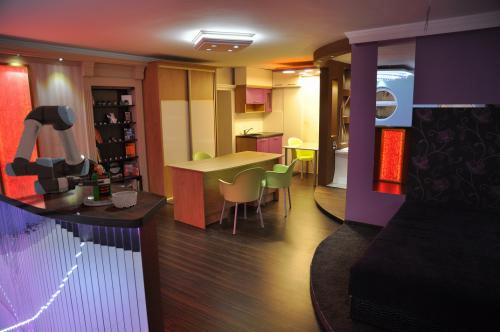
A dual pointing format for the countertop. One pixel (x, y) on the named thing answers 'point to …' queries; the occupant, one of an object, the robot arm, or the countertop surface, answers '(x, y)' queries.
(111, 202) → the tray
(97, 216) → the countertop surface
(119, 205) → the ramekin
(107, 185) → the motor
